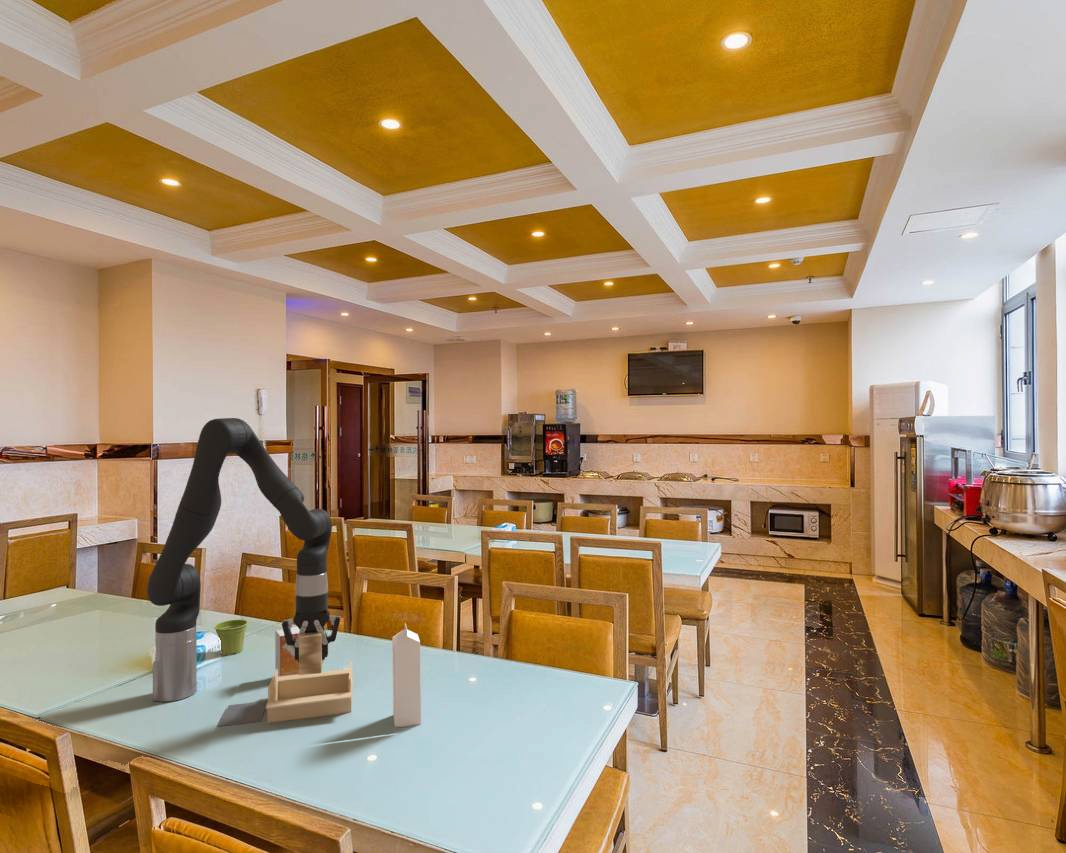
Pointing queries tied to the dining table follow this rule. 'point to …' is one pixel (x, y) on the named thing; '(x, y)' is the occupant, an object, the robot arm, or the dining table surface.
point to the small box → (285, 654)
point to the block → (310, 653)
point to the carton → (310, 695)
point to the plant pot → (231, 635)
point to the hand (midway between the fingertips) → (311, 659)
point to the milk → (406, 679)
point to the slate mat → (243, 713)
